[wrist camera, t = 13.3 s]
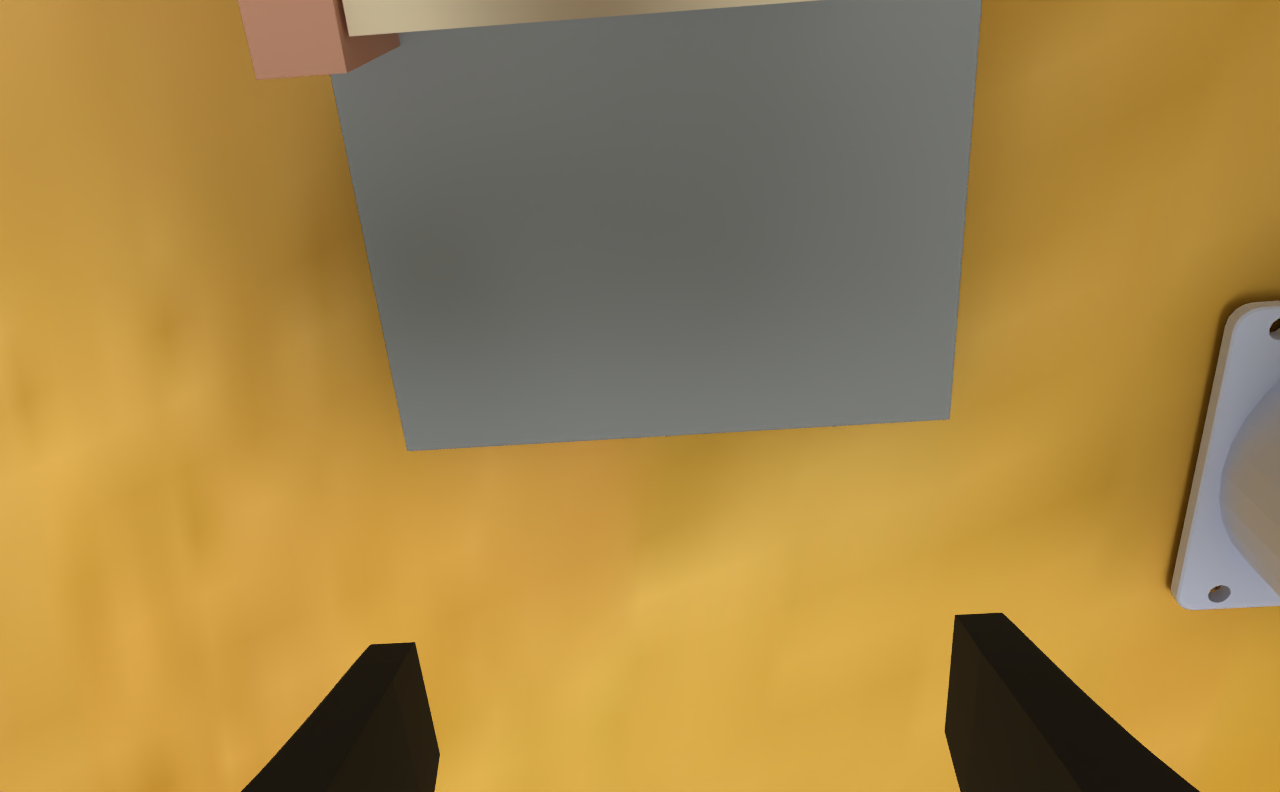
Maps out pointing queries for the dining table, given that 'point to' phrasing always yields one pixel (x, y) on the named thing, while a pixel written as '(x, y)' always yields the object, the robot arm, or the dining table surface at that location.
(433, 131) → the board
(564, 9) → the wooden square ring
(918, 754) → the dining table surface
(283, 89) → the dining table surface
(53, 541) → the dining table surface
